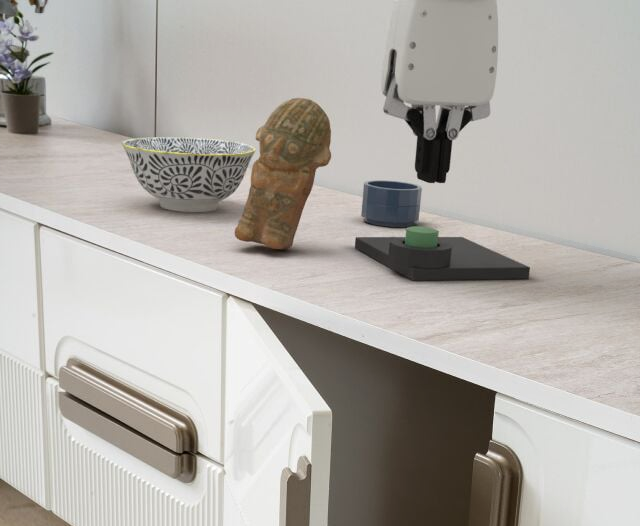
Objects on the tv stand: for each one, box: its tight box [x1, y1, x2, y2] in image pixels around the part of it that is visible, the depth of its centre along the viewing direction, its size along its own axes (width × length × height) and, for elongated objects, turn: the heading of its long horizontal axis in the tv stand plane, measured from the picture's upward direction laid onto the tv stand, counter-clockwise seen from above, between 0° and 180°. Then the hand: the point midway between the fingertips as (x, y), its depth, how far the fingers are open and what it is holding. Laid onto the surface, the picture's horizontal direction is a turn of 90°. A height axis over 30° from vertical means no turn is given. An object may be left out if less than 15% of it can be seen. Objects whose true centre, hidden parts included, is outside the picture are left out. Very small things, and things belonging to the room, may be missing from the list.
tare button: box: [404, 226, 440, 248], centre depth 111 cm, size 3×3×2 cm
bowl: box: [121, 136, 257, 213], centre depth 136 cm, size 16×16×8 cm
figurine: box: [234, 97, 332, 251], centre depth 116 cm, size 8×8×15 cm
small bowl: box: [360, 179, 423, 228], centre depth 137 cm, size 7×7×4 cm
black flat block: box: [354, 236, 531, 282], centre depth 117 cm, size 14×15×3 cm
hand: (430, 180), depth 109 cm, fingers closed
